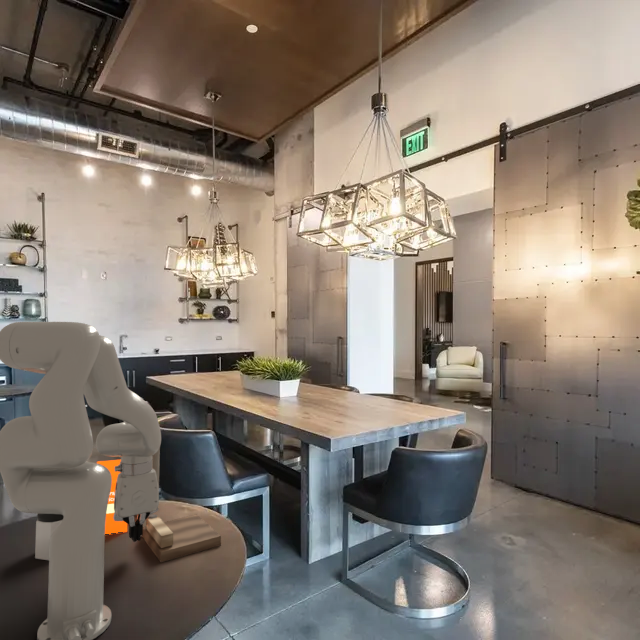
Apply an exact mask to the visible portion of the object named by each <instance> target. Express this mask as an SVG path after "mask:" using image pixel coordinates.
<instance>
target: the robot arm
mask: <svg viewBox="0 0 640 640" xmlns="http://www.w3.org/2000/svg"><path fill="white" fill-rule="evenodd" d="M116 350H117V349H116V348H115V345H114V343H113V342H112V341H111V340H110V339H109V338H108V337H106V336H104V335H101V334H99V331H98V330H97V329H96V328H95V326H92V325H90V324H88V323H84V322H83V323H82V322H76V321H16V322H11V323H9V324H7V325H5V326H4V327H3V328H1V330H0V361H1V363H2V364H4V365H5V366H7V367H9V368H12V369H15V370H21V371H26V372H30V373H36V374H42V375H44V376H43V377H42V378H41V379H40V381H39V382H38V383H37V384H36V386H35V387H34V389H33V390H32V392H31V393H30V395H29V399H28V408H29V411H30V415H26V416H25V415H23V416H19V417H16V418H12V419H11V420H9V421H8V422H6V423H5V424H4V425H3V427H2V428H1V429H0V475H1V478H2V481H3V483H4V484H3V485H4V486H5V490H6V492H7V495H8V499H9V501H10V503H11V504H12V506H13V507H14V508H15V509H16V510H17V511H18V512H21V513H24V514H35V515H36V514H61V515H63V516H64V518H63V520H62V522H61V523H60V524H59V526H58V527H57V528H56V529H55V531H54V532H53V534H52V536H51V539H50V545H49V560H48V587H47V588H48V590H47V591H48V593H47V615H46V616H47V618H46V619H44V621H43V622H42V623H41V624H40V625H39V627H38V629H37V632H36V633H37V635H36V640H94V639H96V638H97V637H99V636H100V635H101V634H103V633H104V632H105V631H106V629H108V627H109V626H110V625H111V623H112V622H111V621H112V610H111V609H110V607H108V606H107V605H105V604H104V587H105V586H104V585H105V584H104V581H105V579H104V578H105V549H106V548H105V544H106V541H105V540H106V535H105V521H106V512H107V505H108V500H109V495H110V491H111V485H112V477H111V473H110V471H109V470H108V469H107V468H106V467H105V466H103V465H101V464H98V463H97V462H92V461H89V460H90V459H91V457H92V455H93V449H94V438H93V433H92V429H91V424H90V419H89V417H88V416H89V415H88V411H87V408H86V403H87V405H88V406H89V407H90V409H92V410H94V411H96V412H98V413H100V414H103V415H106V416H108V417H111V418H114V419H117V420H120V421H123V422H120V423H113V424H109V425H106V426H104V427H103V428H102V429H101V430H100V431H99V432H98V434H97V436H96V439H95V448H96V450H97V452H98V453H99V454H100V455H102V456H104V457H115V458H118V457H119V458H120V460H121V462H120V464H119V465H118V466H115V468H114V469H115V472H116V471H118V472H120V473H119V474H118V477H117V481H116V488H115V496H114V511H115V512H114V516H113V519H114V521H124V522H126V523H127V524H128V537H129V539H131V540H132V542H133V543H135V542H137V541H138V542H140V541H141V538H142V535H143V527H144V525H143V524H145V523H146V522H145V521H146V519H147V517H148V516H149V515H153V514H155V513H156V512H159V508H158V506H159V503H160V499H159V498H160V493H159V494H158V482H157V475H156V471H155V470H154V469H152V455H154V454H155V453H156V452H157V451H158V450H159V448H160V449H161V444H162V432H161V427H160V422H159V420H158V416H157V413H156V411H155V410H154V409H153V407H152V405H150V404H149V403H148V402H147V401H145V400H144V399H143V398H142V397H141V396H139V395H138V394H137V393H135V392H134V391H132V390H131V389H129V388H128V386H127V382H126V380H125V376H124V373H123V370H122V369H123V368H122V366H121V363H120V359H119V357H118V354H117V351H116ZM85 400H86V403H85ZM135 516H137V517H136V520H135Z"/></svg>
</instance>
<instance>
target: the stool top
mask: <svg viewBox="0 0 640 640" xmlns="http://www.w3.org/2000/svg"><path fill="white" fill-rule="evenodd" d="M163 522H164V523H165V524H166V525H167V527H168V528H169V529H170V530H171V531H172V532H173V545H171V546H167V547H164V548H161V547H160V546H159V544H158V543H157V542H156V541H155V539H154V538H153V537H152V535H151V534H150V533H149V532H148V530H147V529H146V525H145V526H143V535H141V538H143V539H144V541H145V542H146V544H147V546H148V547H149V548H150V549H151V551H152V552H153V554H154V555H155V556H156V558H157V559H158V560H159V562H160V563H164V562H167V561H170V560H174V559H177V558H181V557H184V556H189V555H191V554H195V553H198V552H202V551H205V550H208V549H212V548H216V547H220V546H221V544H222V537H221V536H222V535H221V534H220V533H219V532H218V531H216V530H215V529H214V528H213V527H212V526H211V525H210V524H208V522H206V521H205V520H204V519H202V517H201V516H199V515H198V513H197V514H192V515H188V516H184V517H179V518H175V519H171V520H166V521H163Z"/></svg>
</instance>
